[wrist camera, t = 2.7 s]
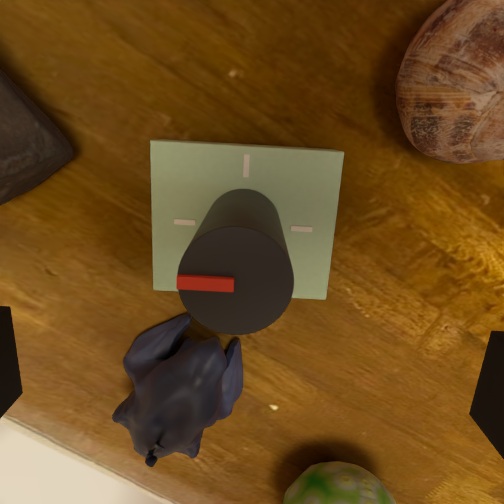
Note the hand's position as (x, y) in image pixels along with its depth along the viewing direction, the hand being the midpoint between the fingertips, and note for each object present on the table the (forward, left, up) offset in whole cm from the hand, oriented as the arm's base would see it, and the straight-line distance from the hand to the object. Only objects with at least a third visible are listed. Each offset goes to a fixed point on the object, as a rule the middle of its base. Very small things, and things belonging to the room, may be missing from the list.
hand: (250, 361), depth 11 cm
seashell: (-13, -10, -19) cm, 25 cm away
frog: (+5, +13, -19) cm, 23 cm away
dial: (+1, 0, -15) cm, 15 cm away
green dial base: (+1, 0, -18) cm, 18 cm away
